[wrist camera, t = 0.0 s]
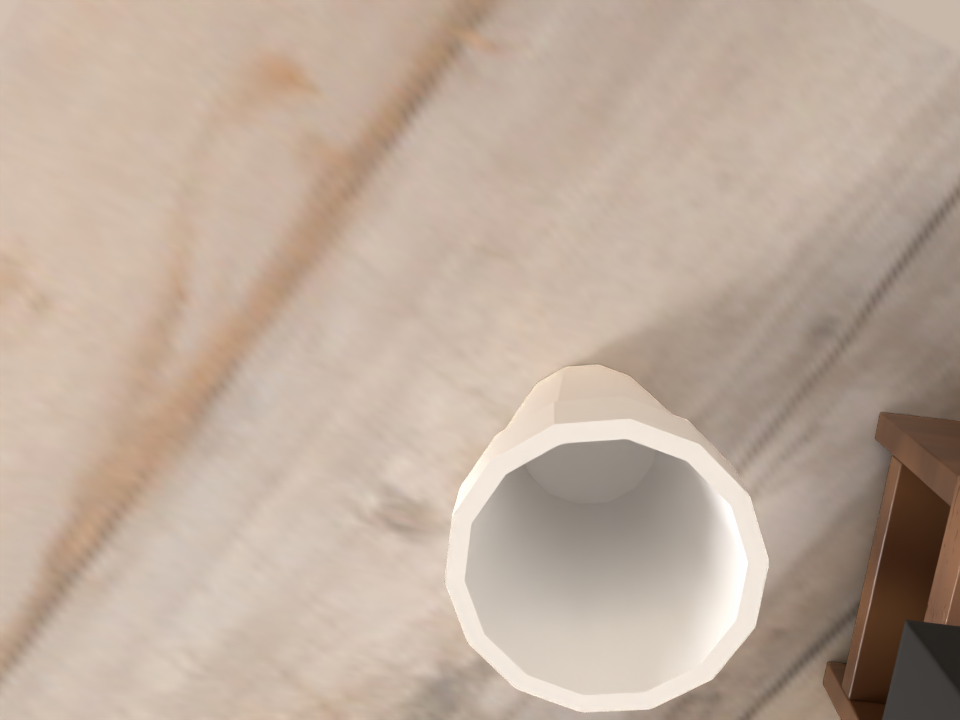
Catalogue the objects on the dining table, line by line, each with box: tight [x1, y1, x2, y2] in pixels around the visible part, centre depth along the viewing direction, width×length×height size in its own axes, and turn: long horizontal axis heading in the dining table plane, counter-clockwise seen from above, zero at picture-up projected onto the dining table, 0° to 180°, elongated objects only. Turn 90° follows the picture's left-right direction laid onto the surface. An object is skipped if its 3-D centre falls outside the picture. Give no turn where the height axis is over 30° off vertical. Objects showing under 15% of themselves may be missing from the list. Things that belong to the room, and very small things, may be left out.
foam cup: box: [444, 364, 769, 713], centre depth 33 cm, size 10×9×13 cm
